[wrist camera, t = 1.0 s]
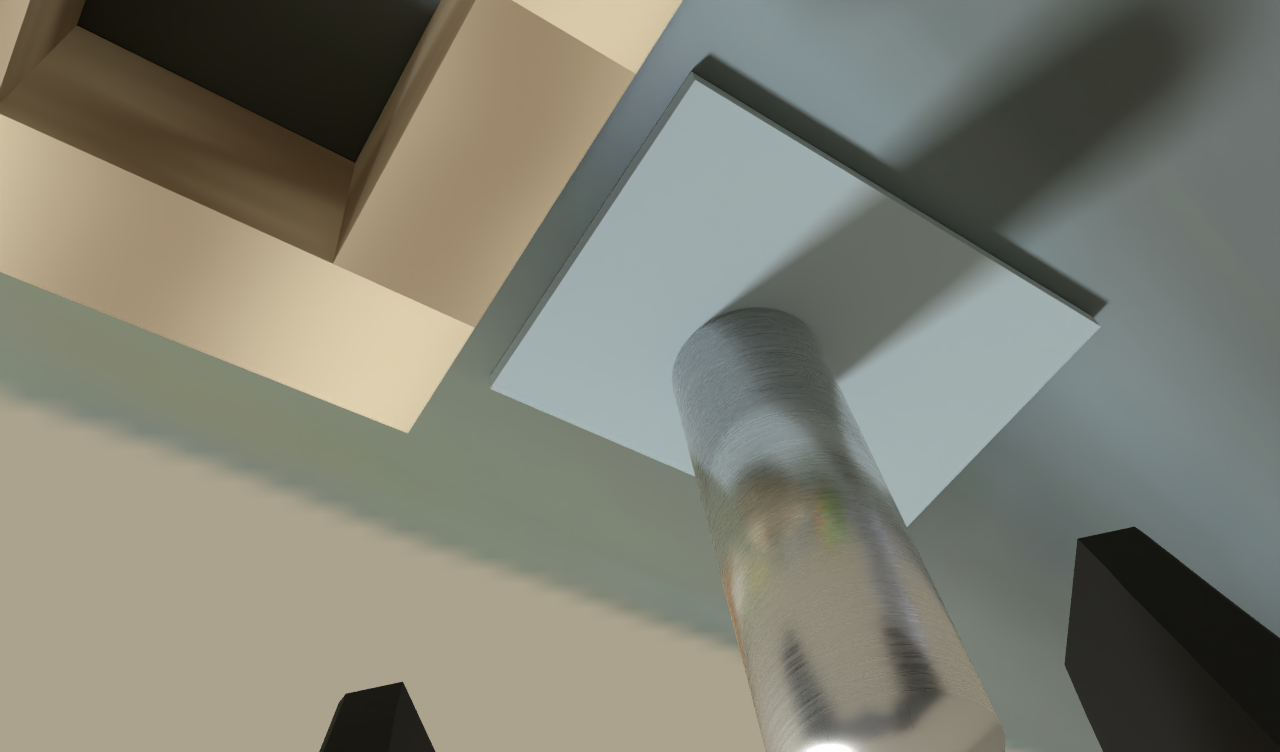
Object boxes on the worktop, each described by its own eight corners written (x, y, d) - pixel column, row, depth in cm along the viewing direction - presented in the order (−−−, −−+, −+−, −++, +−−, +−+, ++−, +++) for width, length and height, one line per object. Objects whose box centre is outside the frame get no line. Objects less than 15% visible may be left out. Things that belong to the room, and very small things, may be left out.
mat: (1091, 316, 22) (1100, 326, 22) (873, 543, 25) (879, 555, 25) (691, 71, 18) (695, 79, 18) (489, 377, 21) (489, 389, 21)
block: (688, -133, 16) (734, -81, 13) (417, 317, 20) (407, 433, 17) (58, -576, 13) (-63, -632, 10) (-124, 77, 16) (-251, 173, 14)
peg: (841, 316, 21) (1042, 697, 13) (797, 439, 22) (954, 838, 15) (691, 298, 20) (816, 688, 13) (656, 426, 22) (749, 838, 14)
